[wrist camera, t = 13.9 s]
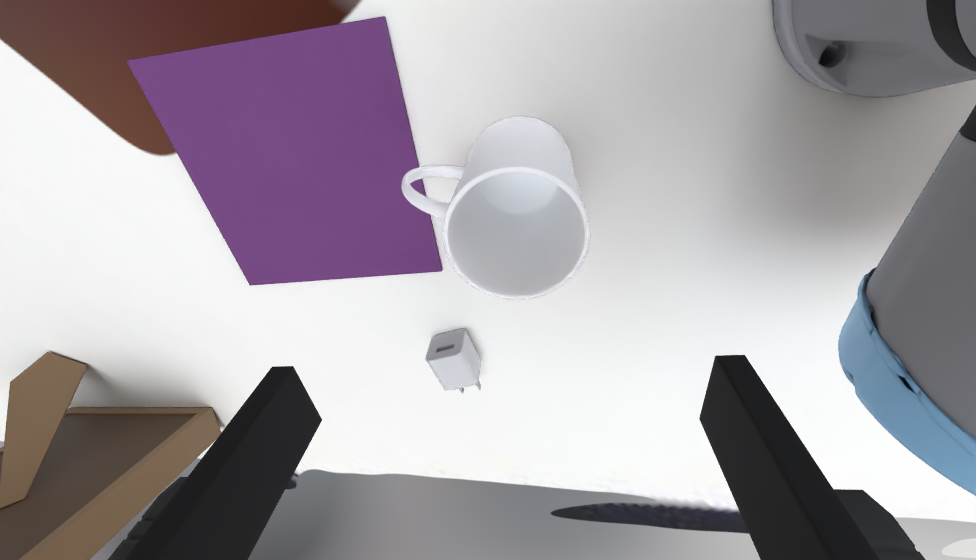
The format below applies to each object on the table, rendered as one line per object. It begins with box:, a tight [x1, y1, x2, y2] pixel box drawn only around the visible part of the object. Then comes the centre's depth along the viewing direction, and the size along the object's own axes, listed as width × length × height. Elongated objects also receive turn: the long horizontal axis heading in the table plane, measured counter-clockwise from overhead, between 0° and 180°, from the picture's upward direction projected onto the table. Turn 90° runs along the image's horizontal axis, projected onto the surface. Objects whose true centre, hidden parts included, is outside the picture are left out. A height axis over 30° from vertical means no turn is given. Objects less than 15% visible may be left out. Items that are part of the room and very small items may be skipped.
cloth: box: [127, 17, 442, 285], centre depth 33 cm, size 20×20×1 cm
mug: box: [401, 116, 590, 299], centre depth 26 cm, size 12×8×12 cm
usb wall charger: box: [426, 329, 481, 394], centre depth 41 cm, size 4×7×4 cm, turn 21°
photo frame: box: [0, 352, 221, 560], centre depth 41 cm, size 15×22×25 cm
